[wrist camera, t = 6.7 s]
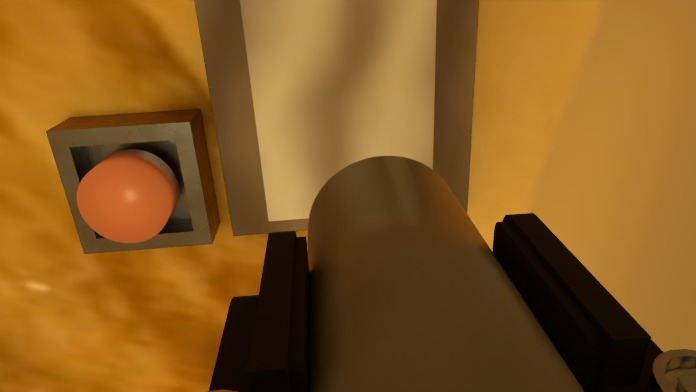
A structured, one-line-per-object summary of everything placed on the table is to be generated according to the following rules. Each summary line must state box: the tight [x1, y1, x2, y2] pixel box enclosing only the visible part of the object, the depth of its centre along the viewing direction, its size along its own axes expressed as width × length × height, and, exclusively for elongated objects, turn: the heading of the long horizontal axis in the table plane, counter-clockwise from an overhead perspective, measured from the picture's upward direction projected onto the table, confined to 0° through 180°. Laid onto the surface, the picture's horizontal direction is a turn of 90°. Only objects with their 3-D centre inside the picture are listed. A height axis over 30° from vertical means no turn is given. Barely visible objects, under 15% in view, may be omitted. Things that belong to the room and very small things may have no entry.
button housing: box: [46, 109, 220, 254], centre depth 31 cm, size 8×8×3 cm
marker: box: [308, 156, 585, 392], centre depth 8 cm, size 4×4×10 cm
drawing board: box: [194, 0, 479, 236], centre depth 30 cm, size 16×19×1 cm
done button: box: [77, 149, 179, 243], centre depth 29 cm, size 5×5×2 cm
